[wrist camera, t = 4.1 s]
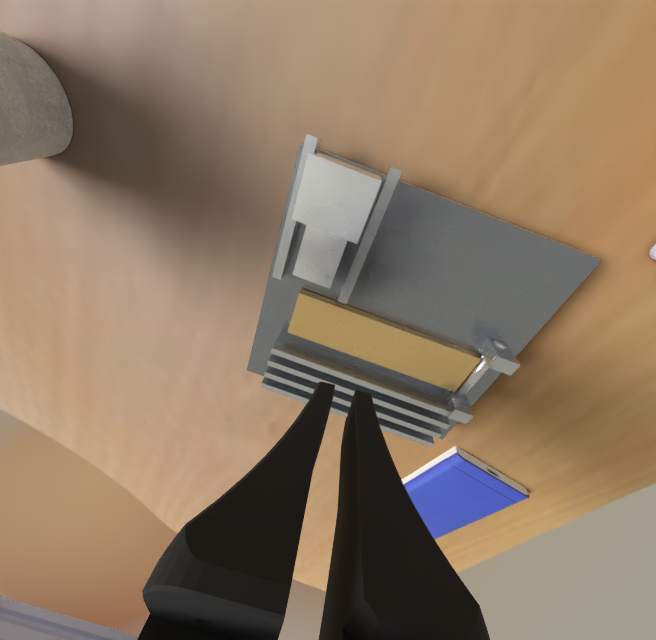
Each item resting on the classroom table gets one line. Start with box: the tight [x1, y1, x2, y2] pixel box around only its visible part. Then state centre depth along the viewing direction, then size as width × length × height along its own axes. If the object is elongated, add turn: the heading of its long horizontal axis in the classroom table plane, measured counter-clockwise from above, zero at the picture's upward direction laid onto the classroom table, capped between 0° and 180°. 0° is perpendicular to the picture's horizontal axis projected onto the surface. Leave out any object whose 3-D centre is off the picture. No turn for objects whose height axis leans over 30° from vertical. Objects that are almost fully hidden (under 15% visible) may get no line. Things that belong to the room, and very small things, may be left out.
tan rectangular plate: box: [287, 289, 481, 392], centre depth 17 cm, size 11×3×1 cm, turn 71°
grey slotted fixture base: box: [247, 134, 602, 447], centre depth 17 cm, size 15×15×4 cm
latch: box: [292, 153, 382, 289], centre depth 13 cm, size 3×5×3 cm, turn 161°
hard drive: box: [402, 446, 529, 539], centre depth 27 cm, size 2×8×12 cm
